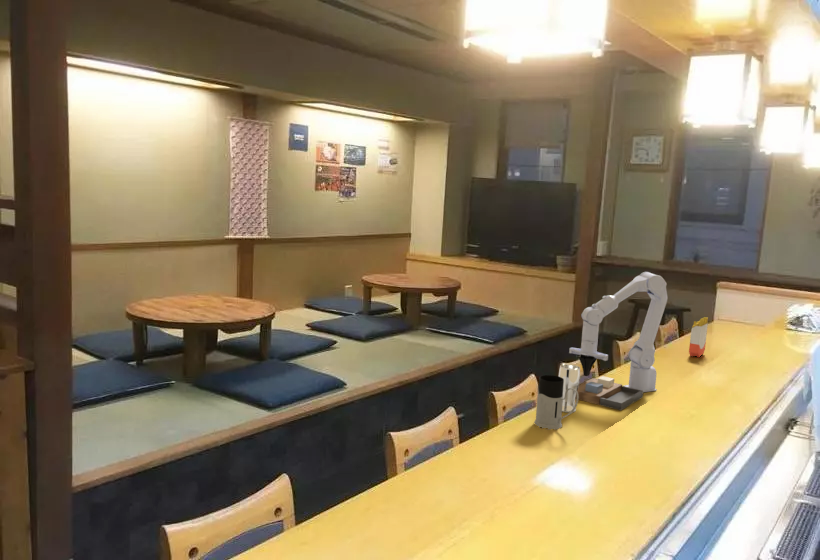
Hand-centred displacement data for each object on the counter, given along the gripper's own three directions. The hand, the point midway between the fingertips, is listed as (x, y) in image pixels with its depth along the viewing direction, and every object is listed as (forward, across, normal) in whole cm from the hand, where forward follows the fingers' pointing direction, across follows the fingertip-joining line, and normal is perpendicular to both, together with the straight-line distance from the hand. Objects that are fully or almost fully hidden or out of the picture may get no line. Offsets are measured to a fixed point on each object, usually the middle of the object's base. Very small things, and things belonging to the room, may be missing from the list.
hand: (586, 375), depth 256 cm
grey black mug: (+5, +11, -46) cm, 47 cm away
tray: (+5, +16, -4) cm, 17 cm away
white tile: (+2, +8, 0) cm, 8 cm away
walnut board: (+5, +6, -4) cm, 9 cm away
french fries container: (+5, +14, +88) cm, 89 cm away
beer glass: (+5, +6, -28) cm, 29 cm away
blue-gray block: (+2, +8, -10) cm, 13 cm away
